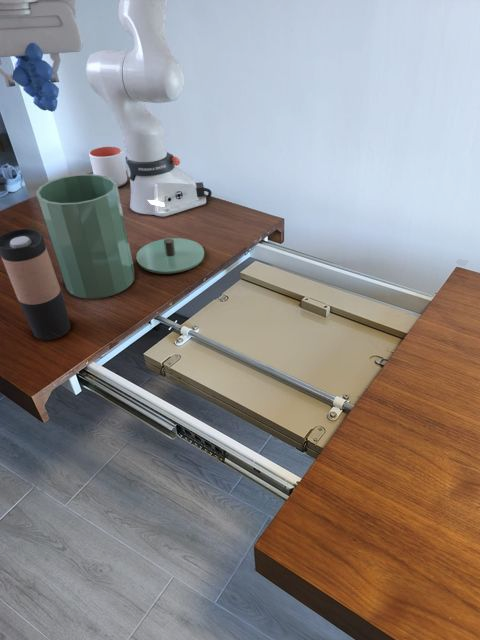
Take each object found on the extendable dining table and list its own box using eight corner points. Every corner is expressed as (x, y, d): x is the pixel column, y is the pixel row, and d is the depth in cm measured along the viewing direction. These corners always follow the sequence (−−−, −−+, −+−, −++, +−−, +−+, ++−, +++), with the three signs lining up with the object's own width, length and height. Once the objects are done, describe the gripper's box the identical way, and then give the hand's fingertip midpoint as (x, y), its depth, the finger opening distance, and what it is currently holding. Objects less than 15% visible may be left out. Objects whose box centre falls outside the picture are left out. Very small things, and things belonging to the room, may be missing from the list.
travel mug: (31, 322, 96) (-5, 232, 83) (70, 314, 99) (41, 225, 86) (32, 344, 91) (-6, 252, 78) (73, 335, 93) (43, 244, 80)
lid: (190, 237, 125) (188, 220, 122) (215, 265, 114) (213, 248, 111) (129, 251, 119) (125, 233, 116) (148, 282, 108) (145, 264, 105)
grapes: (8, 109, 90) (-15, 34, 82) (42, 102, 94) (22, 30, 86) (38, 120, 84) (15, 41, 76) (72, 113, 88) (54, 36, 80)
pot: (124, 256, 117) (105, 169, 103) (143, 287, 106) (125, 194, 92) (60, 272, 111) (31, 182, 97) (73, 305, 101) (42, 210, 87)
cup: (120, 190, 148) (113, 158, 141) (90, 188, 149) (82, 155, 143) (132, 179, 155) (127, 147, 149) (104, 176, 157) (98, 145, 150)
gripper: (68, -14, 83) (87, 75, 92) (-63, -11, 76) (-29, 85, 85) (75, -12, 79) (94, 81, 88) (-64, -9, 71) (-28, 93, 80)
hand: (32, 84), depth 86 cm, fingers closed on grapes, 6 cm apart
